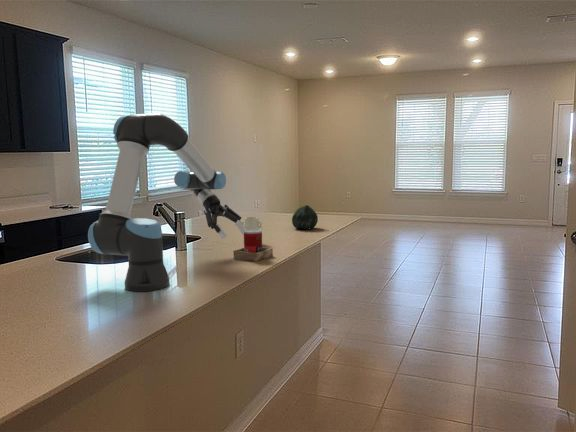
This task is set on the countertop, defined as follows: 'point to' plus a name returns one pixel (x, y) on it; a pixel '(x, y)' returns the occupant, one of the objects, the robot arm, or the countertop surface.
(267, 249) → the crate
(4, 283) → the countertop surface
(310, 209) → the squash
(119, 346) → the countertop surface
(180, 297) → the countertop surface
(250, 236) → the canned food
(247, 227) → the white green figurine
